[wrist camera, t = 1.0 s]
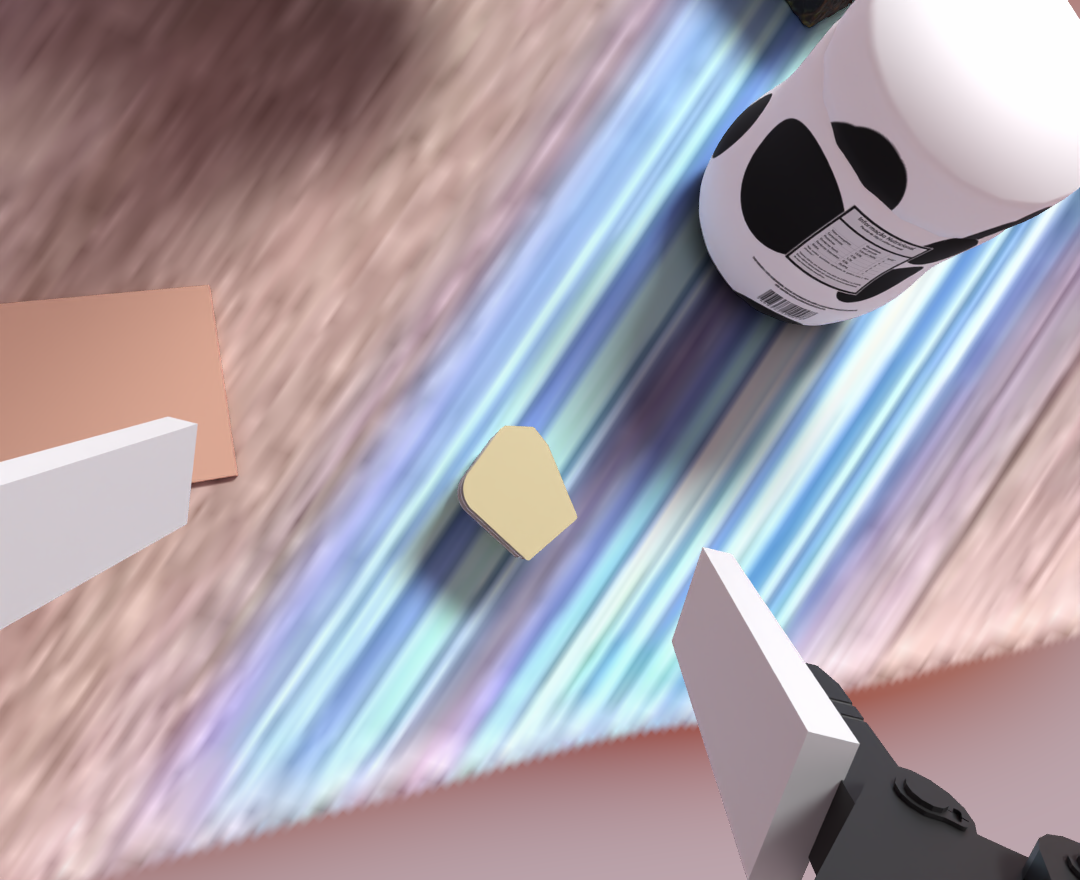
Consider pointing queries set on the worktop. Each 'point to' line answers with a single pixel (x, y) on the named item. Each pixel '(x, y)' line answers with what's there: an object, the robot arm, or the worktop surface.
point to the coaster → (114, 371)
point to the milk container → (894, 152)
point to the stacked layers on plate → (517, 492)
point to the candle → (816, 9)
